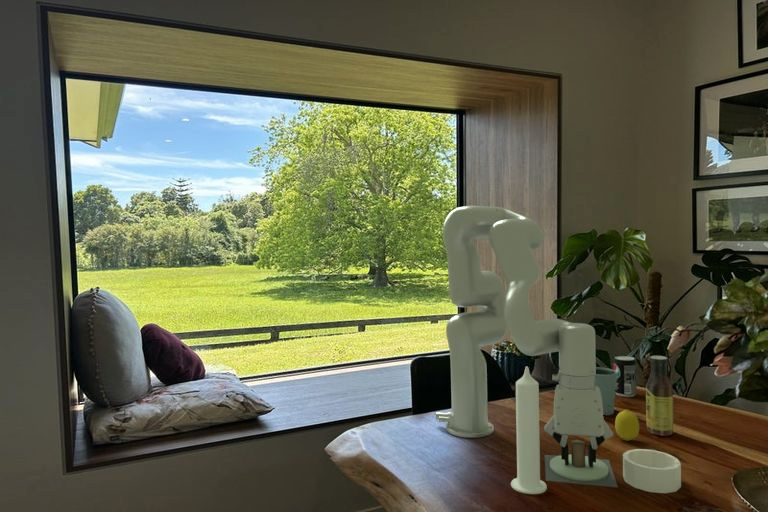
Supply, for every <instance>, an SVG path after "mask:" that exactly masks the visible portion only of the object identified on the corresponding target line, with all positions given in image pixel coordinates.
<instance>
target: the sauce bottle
mask: <svg viewBox="0 0 768 512" xmlns="http://www.w3.org/2000/svg"><path fill="white" fill-rule="evenodd" d="M649 358H650V359H649V362H650V373H649V377H648V380H647V383H646V385H645V408H646V409H645V412H646V415H645V418H646V420H645V421H646V424H645V425H646V428H647V429H646V430H647V431H648V433H649V434H651V435H652V434H653V435H655V436H662V437H668V436H671V435H672V434H673V433H674V393H673V383H672V381H671V380H670V377H669V376H668V363H669V358H668V357H667V356H663V355H651V356H650V357H649Z"/></svg>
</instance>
